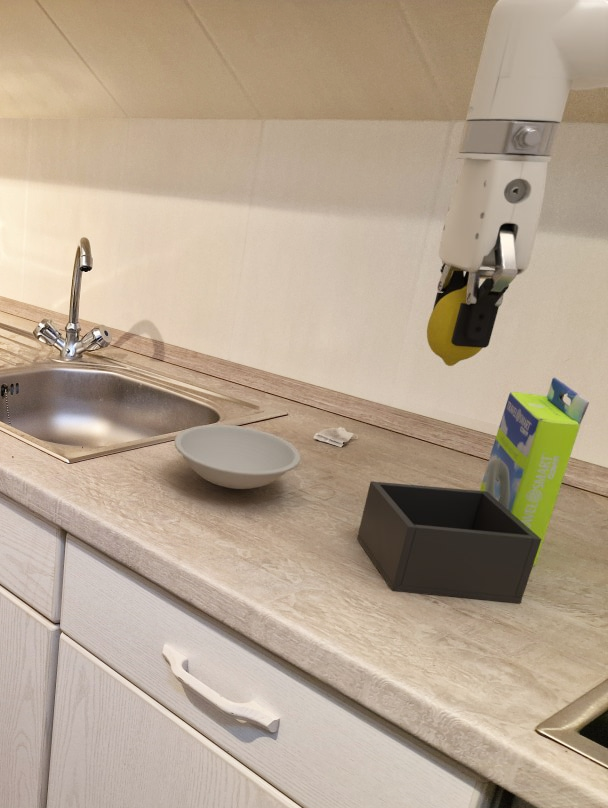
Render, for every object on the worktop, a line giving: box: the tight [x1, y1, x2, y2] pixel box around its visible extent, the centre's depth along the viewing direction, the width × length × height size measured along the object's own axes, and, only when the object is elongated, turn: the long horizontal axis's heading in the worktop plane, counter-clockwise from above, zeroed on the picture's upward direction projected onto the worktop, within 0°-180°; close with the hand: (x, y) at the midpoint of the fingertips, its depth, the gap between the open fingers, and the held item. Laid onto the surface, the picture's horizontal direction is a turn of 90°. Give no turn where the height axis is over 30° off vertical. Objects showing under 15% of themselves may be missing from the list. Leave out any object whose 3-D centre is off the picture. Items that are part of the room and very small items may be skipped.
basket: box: [356, 481, 541, 604], centre depth 83 cm, size 11×11×7 cm
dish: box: [174, 424, 302, 490], centre depth 102 cm, size 18×14×5 cm
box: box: [479, 377, 590, 566], centre depth 87 cm, size 10×4×17 cm, turn 164°
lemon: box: [426, 286, 483, 367], centre depth 84 cm, size 6×6×8 cm
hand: (457, 337), depth 85 cm, fingers closed on lemon, 5 cm apart
